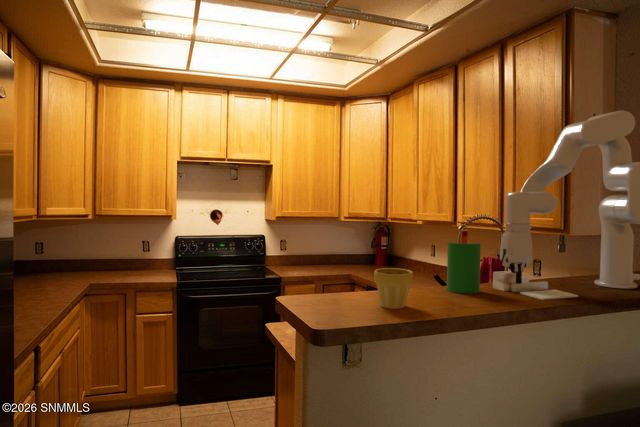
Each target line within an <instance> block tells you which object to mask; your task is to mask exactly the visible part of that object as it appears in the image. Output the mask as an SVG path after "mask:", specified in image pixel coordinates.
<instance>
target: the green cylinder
mask: <svg viewBox="0 0 640 427" xmlns="http://www.w3.org/2000/svg"><path fill="white" fill-rule="evenodd" d="M468 233H469V232H468V229H461V234H460V235H461V236H460V237H461V242H460V243H459V242H452V241H447V261H446V262H447V266H446V269H447V271H446V276H447V277H446V290H447V291H448V292H451V293H456V294H465V295H466V294H467V295H469V294H479V293H480V291H481V290H480V288H481V244H482V243H481V242H477V243H468V236H469V234H468Z"/></svg>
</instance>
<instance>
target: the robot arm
mask: <svg viewBox="0 0 640 427" xmlns="http://www.w3.org/2000/svg"><path fill="white" fill-rule="evenodd" d="M635 126H636V120H635V116H634V115H633V114H632V113H631V112H629V111H627V110H615V111H613V112H607V113H602V114H598V115H595V116H592V117H589V118H587V119H586V120H584V121H579V122H574V123H571V124H568V125H566V126H565V127H563V129H562V130H561V132H560V133H559V136H558V137H557V139H556V141H555V143H554V145H553V147H552V148H551V151H550V152H549V154H548V156H547V158H546V160H545V161H544V162H543V163H542V164H541V165H540V166H539V167H538V168H537V169H536V170H535V171H534V172H533V173H531V175H530V176H529V177H528V179H526V181H525V182H524V184H523V186H522V187H521V190H520V191H509V192H508V193H507V194H506V195H505V196H506V197H505V228H504V229H505V232H502V236H501V237H502V238H501V241H500V248H499V249H500V250H499V260H500V261H501V262H502V263H501V264H502V266H503V267H506V268H508V271H509V272H512V273H516V283H522V278H523V272H524V271H525V269H526V267H529V266H531V264H532V263H531V262H532V261H533V255H534V250H533V238H532V234H531V232H530V231H531V229H532V226H531V214H536V215H537V214H538V215H548V214H550V213H552V212H554V211H555V210H556V209H557V206H558V199H557V197H556V195H554V194H553V193H552V192H549V191H545V189H547V187H548V186H550V185H551V184H552V183H554V182H555V181H558V180H560V179H561V178H563V177H565V176H566V175H568V174H569V173H571V172H572V170H573V168H574V167H575V165H576V162H577V161H578V158H579V156H580V155H581V153H582V151H583V149H584V148H588V147H595V146H598V148H599V149H600V151H601V157H602V159H601V160H602V182H603V185H604V187H605V189H607V190H608V191H612V192H627V194H616V195H614V194H613V195H610V196H609V195H608V196H607V197H605V198H603V199H602V200H601V201H600V203H599V206H598V214H599V219H600V227H601V230H600V231H601V232H600V235H601V237H600V266H599V278H598V279H597V278H596V279H595V280H594V284H595V285H596V286H600V287H606V288H613V289H624V290H625V289H627V290H628V289H629V290H630V289H637V288H638V283H636V282H634V281H635V280H636V281H637V280H638V281H639V280H640V274H639V273H634V272H633V266H634V265H633V262H634V240H635V238H634V230H633V229H632V227H631V224H635V225H640V161H636V162H635V161H634V162H633V159H632V158H633V157H632V148H631V145H630V143H629V140H628V139H627V138H626V136H628V135H629V134H631V133H632V132H633V130H634V128H635Z"/></svg>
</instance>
